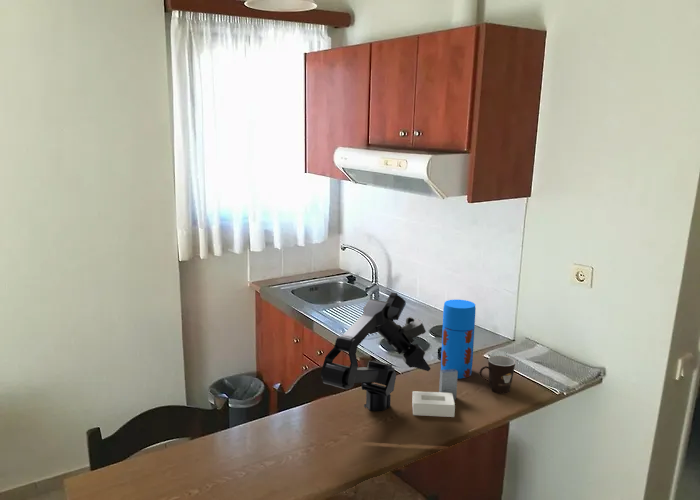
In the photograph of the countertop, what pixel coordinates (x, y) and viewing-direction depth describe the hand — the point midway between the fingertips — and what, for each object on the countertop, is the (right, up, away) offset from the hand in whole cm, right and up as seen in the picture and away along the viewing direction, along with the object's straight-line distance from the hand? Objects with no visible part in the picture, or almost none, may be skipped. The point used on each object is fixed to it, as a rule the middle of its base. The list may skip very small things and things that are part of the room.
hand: (424, 363), depth 173 cm
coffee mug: (+25, -11, +12) cm, 29 cm away
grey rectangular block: (+8, -12, +3) cm, 15 cm away
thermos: (+14, -8, +25) cm, 30 cm away
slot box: (+2, -14, -4) cm, 14 cm away
